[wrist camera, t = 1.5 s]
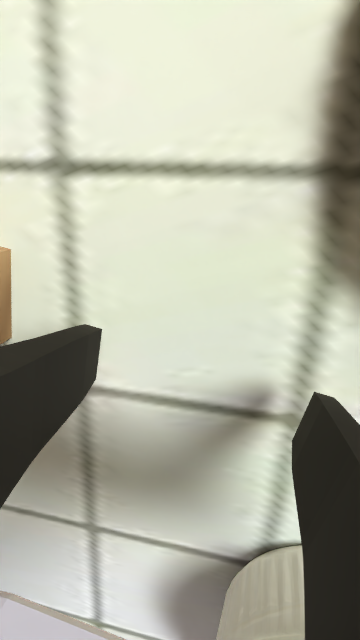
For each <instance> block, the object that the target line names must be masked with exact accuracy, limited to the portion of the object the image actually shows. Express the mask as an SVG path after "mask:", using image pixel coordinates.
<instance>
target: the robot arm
mask: <svg viewBox="0 0 360 640" xmlns="http://www.w3.org/2000/svg"><path fill="white" fill-rule="evenodd" d="M101 333H102V329H99V328H96V327H93V326H89V325H86V324H85V325H79V326H75V327H72V328H68V329H65V330H61V331H58V332H54V333H51V334H47V335H44V336H41V337H37V338H34V339H30V340H26V341H22V342H18V343H14V344H9V345H5V346H1V347H0V508H1V507H2V505H3V504H4V502H5V501H6V499H7V498H8V496H9V495H10V493H11V491H12V490H13V488H14V487H15V486H16V484H17V483H18V481H19V480H20V478H21V477H22V475H23V474H24V472H25V471H26V469H27V468H28V467H29V465H30V464H31V462H32V461H33V460H34V458H35V457H36V456H37V454H38V453H39V452H40V451H41V449H42V448H43V447H44V446H45V445H46V443H47V442H48V441H49V440H50V439H51V438H52V436H53V435H54V434H55V433H56V432H57V430H58V429H59V428H60V427H61V426H62V425H63V423H64V422H65V421H66V420H67V419H68V417H69V416H70V415H71V414H72V413H73V411H74V410H75V409H76V408H77V407H78V405H79V404H80V403H81V402H82V400H83V399H84V397H85V396H86V394H87V393H88V391H89V389H90V388H91V386H92V384H93V383H94V381H95V379H96V373H97V365H98V357H99V349H100V341H101ZM292 474H293V482H294V490H295V497H296V505H297V512H298V519H299V527H300V534H301V542H302V552H303V572H304V611H305V640H360V425H359V424H358V423H357V422H356V420H355V419H354V418H353V417H352V416H351V415H350V414H349V413H348V412H347V410H346V409H345V408H344V407H343V406H342V405H341V404H340V403H339V402H338V401H337V400H336V399H335V398H333V397H330V396H327V395H323V394H320V393H316V392H314V394H313V396H312V398H311V400H310V402H309V405H308V407H307V409H306V411H305V413H304V416H303V418H302V420H301V422H300V425H299V427H298V429H297V431H296V433H295V436H294V438H293V440H292ZM0 640H126V639H123V638H121V637H118V636H116V635H114V634H111V633H109V632H106V631H104V630H101V629H99V628H96V627H94V626H91V625H89V624H86V623H84V622H81V621H79V620H77V619H74V618H72V617H69V616H67V615H64V614H62V613H59V612H57V611H54V610H52V609H49V608H47V607H44V606H42V605H39V604H37V603H35V602H32V601H30V600H27V599H25V598H22V597H20V596H17V595H15V594H12V593H7V592H3V591H0Z"/></svg>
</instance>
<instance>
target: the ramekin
mask: <svg viewBox="0 0 360 640" xmlns="http://www.w3.org/2000/svg"><path fill="white" fill-rule="evenodd" d="M216 640H305V611H304V572H303V552H302V545H297V546H289V547H284V548H279V549H275V550H272V551H269V552H267V553H264V554H262V555H260V556H258V557H256V558H255V559H253V560H252V561H251V562H249V563H248V564H247V565H246V566H245V567H244V568H243V569H242V570H241V571H240V572H238V573H237V575H236V576H235V577H234V579H233V580H232V581H231V584H230V587H229V588H228V590H227V593H226V596H225V601H224V606H223V610H222V615H221V619H220V623H219V628H218V632H217V637H216Z"/></svg>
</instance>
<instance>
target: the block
mask: <svg viewBox="0 0 360 640" xmlns="http://www.w3.org/2000/svg"><path fill="white" fill-rule="evenodd" d="M10 338H12V330H11V249H8V248H4V247H0V344H2V343H4V342H5V341H7V340H8V339H10Z"/></svg>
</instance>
